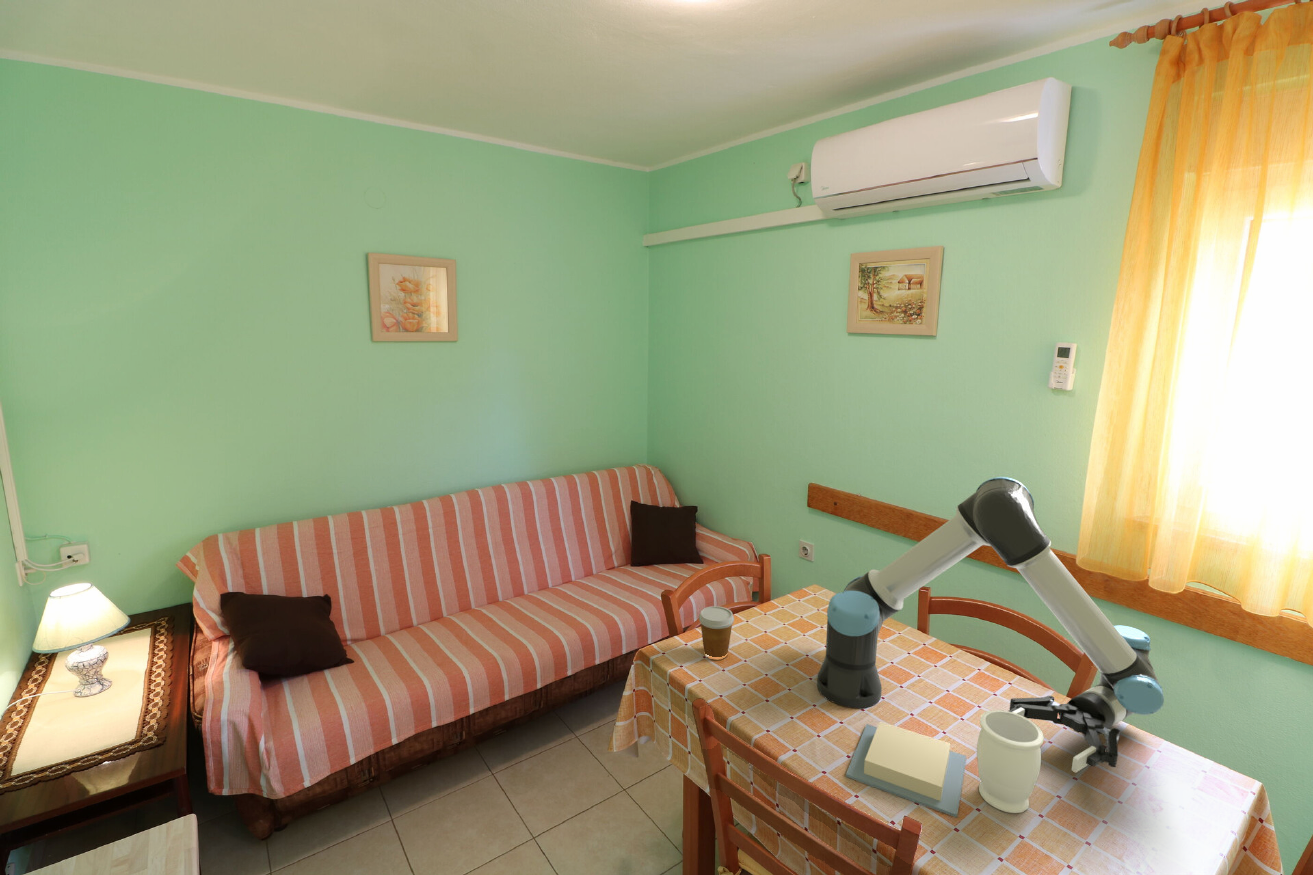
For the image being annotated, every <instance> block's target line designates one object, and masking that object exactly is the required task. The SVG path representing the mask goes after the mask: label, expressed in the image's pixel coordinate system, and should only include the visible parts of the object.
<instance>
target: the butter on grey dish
mask: <svg viewBox="0 0 1313 875" xmlns="http://www.w3.org/2000/svg"><path fill="white" fill-rule="evenodd" d="M864 727H865V728H864V730H863V732H862V735H861V737H860V740H859V742H858V745H857V747H856V748H855V751H854V754H853V756H852V758H851V761H850V763H849V766H848V768H847V771H846V774H845V778H848V779H852V780H854V781H857V782H859V783H861V784H865V785H867V786H870V787H872V788H875V789H879V790H881V791H883V792H886V793H889V794H892V795H895V796H896V797H900V798H902V799H906V800H908V801H910V802H913V803H916V804H919V805H921V806H924V807H927V808H930V809H931V810H932V809H933V810H934V811H937V812H941V813H943V814H946V815H949V816H951V817H954V818H958V813H959V806H960V801H961V800H960V799H961V794H962V787H963V783H964V782H963V780H964V776H965V775H964V774H965V769H966V768H965V767H966V761H967V755H964V754H961V753H959V752H956V751H952V750H951V743H950V742H946V741H944V740H940V739H937V738H935V737H931V736H928V735H924V734H921V733H918V732H915V731H912V730H909V729H906V728H903V727H899V726H896V725H893V724H890V723H887V722H884V721H881V720H880V721H879V723H878V725H877V726H876V725H875V726H874V725H871V724H869V723H866V725H865V726H864Z"/></svg>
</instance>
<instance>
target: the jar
mask: <svg viewBox="0 0 1313 875" xmlns="http://www.w3.org/2000/svg"><path fill="white" fill-rule="evenodd" d="M979 726H980V732H979V735H978V738H977V744H976V759H977V770H978V772H977V773H978V776H979V779H980V783H979V784H978V790H979V792H978V793H979V794H980V796H981V798H983V800H984V801H985V802H986V803H988V804H989V805H990V806H991V807H993V808H995V809H997V810H999V811H1002V812H1005V813H1010V814H1021V813H1023V812H1025V811H1027V809H1028V808H1029V806H1030V805H1029V804H1030V801H1029V798H1030V796H1031V795H1032V793H1033V791H1034V789H1035V786H1036V783H1037V780H1038V778H1039V774H1040V771H1041V766H1042V765H1041V764H1042V757H1041V756H1042V752H1041V746H1042V745H1043V744H1044V741H1045V740H1044V739H1045V738H1044V733H1043V730H1042V729H1041V728H1040V727H1039V725H1037V723H1035V722H1033V721H1032V720H1031V719H1029V718H1026V717H1024V716H1021V715H1019V714H1016V713H1013V712H1009V710H1004V709H1003V710H1002V709H992V710H988V711H987V710H986V711H985V712H983V713H982V714H981V716H980V717H979Z"/></svg>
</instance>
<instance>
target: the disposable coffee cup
mask: <svg viewBox="0 0 1313 875" xmlns="http://www.w3.org/2000/svg"><path fill="white" fill-rule="evenodd" d="M698 620H699V622H700V629H701V637H702V646H703V647H702V648H703V653H704V652H705V654H707V655H709V656H712V657H722V656H725V655H726V654H727V653H728V654H729V649H730V641H731V634H732V628H733V623H734V622H735V617H734V614H733V612H732V610H731V609H730V608H729V609H728V608H727V607H724V606H718V605H717V606H707V607H705V608H703V609H701V611H700V613H699V616H698Z"/></svg>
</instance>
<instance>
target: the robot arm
mask: <svg viewBox="0 0 1313 875" xmlns="http://www.w3.org/2000/svg"><path fill="white" fill-rule="evenodd" d="M1034 508H1035V502H1034V498H1033V496H1032V493H1030V491H1029V490H1028V488H1027V487H1026V486H1025V485H1024V484H1023V483H1022V482H1020V481H1019V480H1016V479H1014V478H1011V477H1007V476H995V477H991V478H989V479H986V480H985V481H983V482H982V483H980V485H979V486H978V487H977V489H976V491H975V492H974V493H973V494H972V495H970V496H969V497H967V498H965V499H964V500H963V501H962V502H960V504H958V505H957V506H956V512H955V516H953V517H952V518H951V519H949V520H948V521H946V522H945V523H944V524H942V525H941V526H940V527H939V528H937V529H935V530H934V531H933V532H931V533H929V535H927V536H926V537H925V538H923V539H922V540H920V541H919V542H918V543H916V544H915V545H914V546H912V547H911V548H910V549H908V550H907V551H906V552H904V553H903V554H902V555H900V556H898V558H896V559H894V560H893V561H892V562H891V563H889V564H888V565H886V566H885V567H884V568H882V569H881V570H877V569H870V570H868V571H867V572H866V573H865V574H864V575H860V576H857V577H855V578H853V579H852V580H850V582H848V584H846V586H845V587H844V589H843V591H842V592H836V593H835V594H834V595H833V596H832V597H831V598H830V599H829V602H828V606H827V611H826V617H827V623H826V624H827V625H826V641H825V657H824V659H823V662H822V664H821V666H820V668H819V670H818V672H817V676H816V689H817V691H818V692H819V691H820V692H819V693H820V695H821V696H822V697H824V698H825V697H826V698H827V699H826V698H825V699H826V700H828V699H829V700H828V701H830V702H831V701H833V702H834V704H836V705H838V706H842V707H845V708H846V707H847V708H853V709H864V708H869V707H872V706H874V705H876V704H878V703H879V701H880V700H881V699H882V690H883V689H882V683H881V678H880V675H879V672H878V668H877V665H876V662H877V660H876V659H877V650H878V649H877V647H878V638H879V633H880V631H881V628H882V626H883V623H884V622H885V621H886V620H888V619H889V618H891V617H892V616H893V615H895V614H896V613H898V612H899V611H900V610H902V609H903V607H904V601H905V599H906V598H908V597H909V596H911V595H912V594H913V593H916V592H917V591H918V590H920V589H921V588H922V587H924V586H925V585H927V584H928V583H930V582H931V581H932V580H934V579H935V578H937V577H938V576H940V575H941V574H943V573H944V572H946V571H947V570H948V569H950V568H952V567H953V566H955V565H956V564H957V563H959V562H960V561H961V560H963V559H964V558H966V557H967V556H969V555H970V554H972V553H973V552H974V551H976V550H977V549H979V548H980V547H982V546H988V547H991V548H992V549H993V550H994V551H995V552H996V554H997V555H998V556H999V557H1000V559H1002V562H1004V564H1005V565H1006V566H1007V567H1009V568H1014V569H1016V570H1017V571H1018V572H1019V574H1020V575H1021V576H1022V577H1023V579H1024V580H1025V581H1026V582H1027V584H1029V586H1030V587H1031V589H1033V591H1034V592H1035V593H1036V595H1037V596H1038V597H1039V599H1040V600H1041V601H1042V602H1043V603H1044V604H1045V605H1046V607H1047V608H1048V610H1050V612H1051V613H1052V614H1053V616H1055V618H1056V619H1057V621H1059V623H1060V624H1061V625H1062V627H1064V629H1065V630H1066V632H1067V633H1068V634H1069V635H1070V637H1071V638H1072V639H1073V640H1074V641H1075V643H1076V644H1077V645H1078V646H1079V647H1080V649H1081V650H1082V651H1083V653H1084V654H1085V655H1086V656H1087V657H1088V659H1089V660H1090V661H1091V662H1092V663H1093V665H1094V666H1095V668H1096V669H1097V670H1098V671H1099V672H1100V677H1099V682H1098V684H1096V685H1095V686H1093V687H1090V688H1089V689H1087V690H1085V691H1083V692H1082V693H1079V694H1078V695H1075V696H1074V697H1072V698H1071V699H1070V700H1068V701H1067V703H1059V702H1057V701H1055V697H1054V696H1052V695H1047V696H1044V697H1015V698H1013V697H1012V698H1010V703H1009V709H1008V711H1009V712H1013V713H1016V714H1019V715H1021V716H1024V717H1026V718H1027V719H1029V720H1031V719H1032V720H1039V721H1041V720H1042V721H1047V722H1049V721H1050V722H1052V723H1053V724H1055V725H1056V724H1057V725H1063V726H1065V727H1067V728H1070V729H1072V730H1073V731H1074V732H1076V733H1078V734H1082V735H1083V737H1084V740H1085V741H1086V742H1087V744H1088V745H1089V747H1087V748H1085V750H1083V751H1082V752H1079V753H1078V754H1076V755H1075V756H1073V758H1072V764H1071V765H1072V766H1071V771H1073V772H1074V773H1078V772H1080V770H1083V769H1084V768H1085V767H1087V766H1090V767H1096V766H1097V765H1099V764H1100V763H1101V764H1104V763H1106V764H1108V766H1109V767H1111V768H1116V767H1117V763H1118V757H1119V752H1118V743H1119V741H1120V740H1119V739H1120V734H1121V733H1120V732H1121V730H1119V729H1117V728H1115V727H1114V726H1115V725H1117V724H1119V723H1120V722H1122V721H1123V720H1125V719H1127V718H1128V717H1130V716H1132V715H1133V714H1135V715H1136V714H1137V715H1141V716H1147V715H1152V714H1154V713H1157V712H1159V711H1161V709H1162V707H1163V706H1164V703H1165V701H1164V700H1165V697H1164V691H1163V687H1162V685H1161V684H1160V681H1159V680H1158V678H1157V675H1156V673H1155V670H1154V668H1153V665H1152V663H1151V660H1150V657H1149V655H1150V651H1151V650H1152V648H1151V638H1150V636H1149V635H1148V634H1147V633H1146V632H1144V631H1142V630H1141V629H1138V628H1135V627H1132V626H1127V625H1121V624H1120V625H1119V624H1118V625H1113V624H1112V622H1111V621H1110V619H1109V618H1107V616H1106V615H1105V613H1103V612H1102V610H1101V609H1100V607H1098V605H1097V604H1096V602H1094V600H1093V599H1092V598H1091V597H1090V595H1089V594H1088V593H1087V592H1086V591H1085V589H1084V588H1083V587H1082V586H1081V584H1079V582H1078V581H1077V579H1076V578H1074V576H1073V575H1072V574H1071V572H1070V571H1069V570H1068V568H1066V566H1065V565H1064V564H1063V562H1061V559H1059V558H1058V556H1057V555H1056V554H1055V553H1054V552H1053V550H1052V549H1051V546H1052V545H1051V544H1052V541H1051V540H1050V538H1049V537H1048V536H1047V535H1046V533H1045V532H1044V530H1043V529H1042V528H1041V525H1040V524H1039V522H1038V520H1037V518H1036V515H1035V514H1036V513H1035V510H1034ZM833 702H832V703H833ZM1058 717H1059V718H1058ZM1111 727H1114V728H1111ZM1110 728H1111V729H1110ZM1099 735H1104V738H1105V740H1106V742H1107V745H1106V746H1104V745H1103V743H1102V741H1101V738H1100V737H1099ZM1106 748H1107V751H1106Z"/></svg>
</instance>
